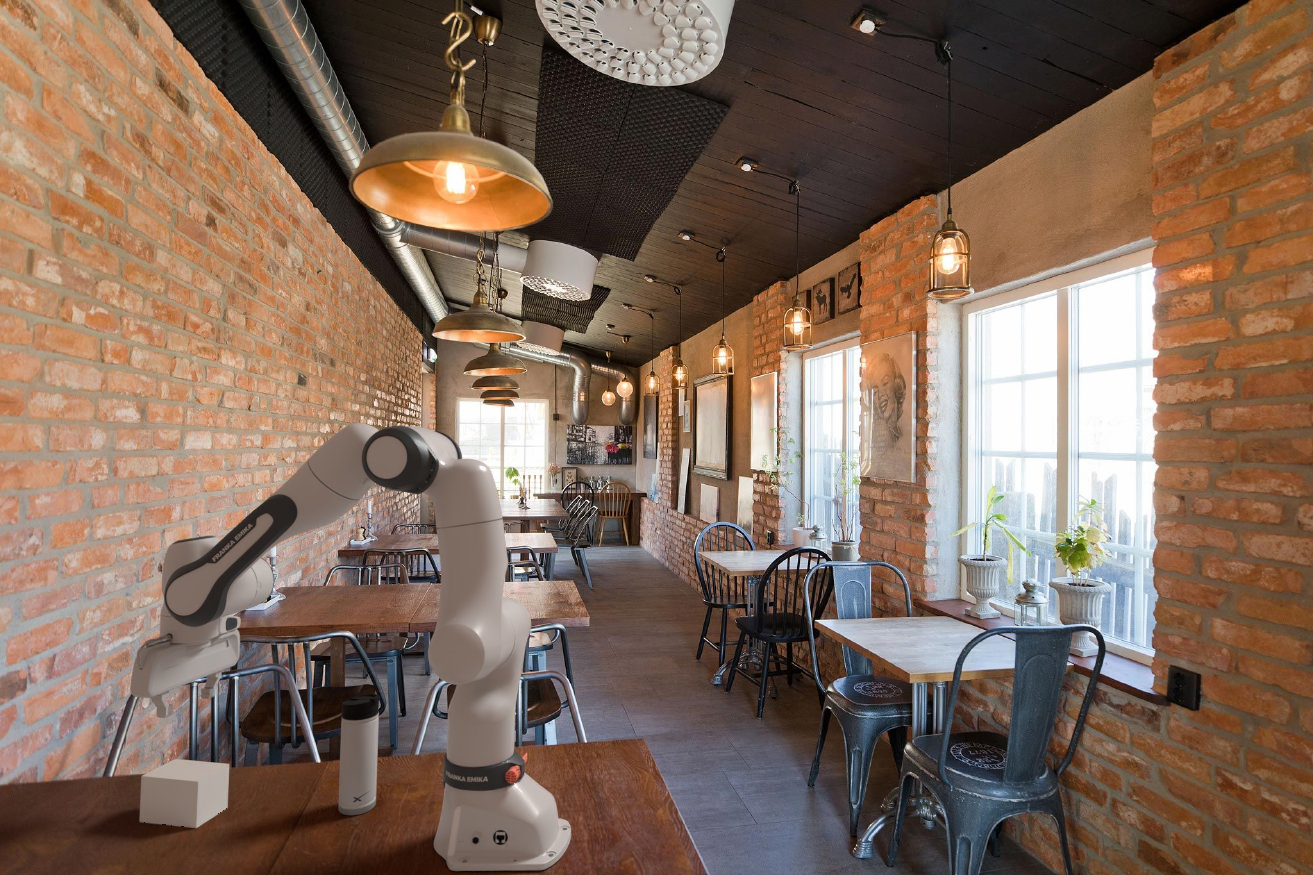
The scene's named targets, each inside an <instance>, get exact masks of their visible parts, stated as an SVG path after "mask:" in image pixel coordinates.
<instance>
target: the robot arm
mask: <svg viewBox="0 0 1313 875" xmlns="http://www.w3.org/2000/svg"><path fill="white" fill-rule="evenodd" d="M374 485H378V486H380V487H382V488H384V489H387V490H390V491H395V492H401V493H402V492H403V493H408V494H413V495H421V494H425V495H427V497H428V498H429V500H430V501H431V502H432V505H433V509H434V516H435V528H436V536H437V546H438V553H439V563H440V591H439V592H440V593H439V601H438V602H439V603H438V610H437V611H438V612H437V619H436V625H435V628H434V631H433V634H432V637H431V639H430V640H429V644H428V650H427V658H428V663H429V666H430V668H431V669H432V671H433V673H434V675H436V677H438V678H439V679H440V680H441V681H443V682H445V683H447V684H451V685H454V686H455V685H456V686H455V689H454V693H453V695H452V698H451V699H450V702H449V706H448V709H447V729H446V731H447V732H446V733H447V734H446V753H445V754H444V757H443V766H442V787H443V789H444V791H443V792H444V793H443V799H442V800H443V801H442V807H441V812H440V818H439V823H438V825H437V826H438V827H437V831H436V834H435V836H434V840H433V848H434V850H435V851H436V853H437V854H438V855H439V856H440V857H442V858H443V859H444V860H445V861H446V865H447V867H448V869H449V870H450V871H454V872H460V871H461V872H463V871H464V872H465V871H468V872H469V871H470V872H471V871H472V872H474V871H475V872H476V871H479V872H480V871H481V872H482V871H483V872H486V871H491V872H493V871H497V872H498V871H543V870H547V869H549V868H550V867H552V866H553V865H554V864H556V863H557V862H558V861H559V860H560V859H561V858H562V857H563V855H564V854H565V852H566V851H567V849H568V847H569V845H570V842H571V838H572V828H571V824H570V822H569V821H568V820H566V819H563V818H561V817H559V814H558V806H557V803H556V799H555V796H554V795H553V794H552V793H551V792H550V791H548V789H546V788H544V787H543V786H542V785H540V784H539V783H538V782H537V781H536V780H535V779H533V778H532V777H531V776H529V775H528V773H526V772H525V770H526V769H525V768H526V763H527V761H528V752H526V753H524V755H523V756H521V754H520V753H519V752H518V751H517V749H516V748H515V732H516V709H517V707H516V706H517V698H518V691H519V686H520V681H521V677H522V672H523V666H524V659H525V652H526V648H527V642H528V640H529V636H530V632H531V629H532V620H531V619H532V618H531V614H530V612H529V610H528V608H527V607H526V605H525V604H523V602H521V601H519V600H517V599H515V598H512V597H505V596H504V595H503V594H504V584H505V579H506V578H505V577H506V573H507V570H508V566H509V558H508V551H507V543H506V542H507V541H506V536H505V527H504V526H505V525H504V519H503V512H502V506H501V501H500V496H499V492H498V488H497V485H496V482H495V479H494V475H493V473H492V470H491V468H490V467H489V466H488V465H487V464H486V463H484V461H480V460H479V459H478V460H477V459H473V458H463V453H462V451H461V448H460V446H459V445H458V443H457V442H456V441H455V440H454V439H453V438H452V437H451V436H450V435H448V434H446V433H444V432H441V431H437V430H431V429H428V428H426V427H423V426H413V425H411V426H410V425H409V426H407V425H392V426H387V427H384V428H381V429H378V428H376V427H375V426H372V425H370V424H367V423H363V422H353V423H350V424H348V425H347V426H345V427H343V428H342V429H340V430H339V431H338V432H336V433H335V434H334V435H333V436H331V437H330V438H328V440H327V441H325V442H324V443H322V445H321V446H319V448H318V449H317V450H315V451H314V453H313V454H312V455H311V456H310V457H309V458H308V459H307V460H306V461H305V462H304V463H303V464H302V465H301V466H300V467H299V469H298V470H297V471H295V473H293V475H291V477H289V479H287V480H286V481H285V482H284V483H283V484H282V485H281V486H280V487H279V488H278V489H277V490H275V491H274V492H273V493H272V494H271V495H270V496H269V497H268V498H267V499H266V500H264V501H263V502H262V503H261V504H260V505H259V506H257V507H255V509H253V511H251V512H250V513H249V514H248V515H246V516H245V517H244V518H243V519H242V520H240V522H238V524H237V525H236V526H234V527H233V528H232V529H231V530H230V531H229V532H228V533H227V534H226V535H225V536H224V537H223V538H220V537H217V536H214V535H205V536H203V535H202V536H199V537H198V536H196V537H190V538H185V539H179V540H176V541H174V542H173V543H171V544H170V545H169V546H168V547H167V549H166V552H165V555H164V560H163V565H162V574H161V592H162V595H163V604H162V607H161V610H160V617H159V618H160V619H159V620H160V621H159V622H160V623H159V636H158V637H155V638H150V639H147V640H146V641H144V643H143V644H142V645H141V646H140V647H139V649H137V651H136V657H135V659H134V663H133V668H132V671H131V678H130V686H129V688H130V689H129V691H130V693H131V694H132V696H133V697H135V698H143V699H151V701H152V703H153V704H154V706H155V707H156V717H157V718H158V719H159V718H163V719H164V718H167V717H169V716H171V715H173V713H174V712H173V710H174V709H173V708H174V704H170V703H169V702H168V700H167V698H168V697H169V696H170V691H171V690H174V689H177V688H180V687H182V686H184V685H185V686H186V685H187V684H190V683H193V682H196V681H198V680H200V679H202V678H205V677H206V678H207V679H206V681H205V684H204V687H202V688H201V689H200V693H201V694H200V698H201V699H202V700H209V699H211V698H214V697H215V696H216V689H217V686H218V685H219V682H220V679H221V677H222V671H224V670H226V669H228V668H232V667H234V666H236V664H237V663H238V661H239V658H240V651H241V650H240V649H241V636H240V631H239V630H238V629H239V628H240V627H241V621H242V620H241V617H239V616H236V615H234V614H237V613H240V612H242V611H247V610H249V609H252V608H255V607H258V606H259V605H261V604H262V603H265V602H266V601H267V600H268V599H269V598H270V596H271V595H272V593H273V590H274V587H275V574H274V571H273V568H272V566H271V565H270V564H269V562H268V561H266V560H265V559H264V558H263V556H265V555H266V553H268V552H269V551H270V550H271V549H273V548H274V547H275V546H277V545H278V544H281V543H282V542H284V541H286V540H288V539H291V538H294V537H295V536H298V535H300V534H303V533H306V532H309V531H312V530H317V529H319V528H323V527H325V526H329V525H331V524H333V523H334V522H336V521H337V520H339V519H340V518H341V517H343V516H344V515H345V514H347V513H348V512H349V511H350V510H352V509H353V508H354V507H355V506H356V505H357V504H358V503H359V501H361V499H362V498H363V497H365V495H366V494H367V493H368V492H369V491H370V489H372V488H373V486H374Z"/></svg>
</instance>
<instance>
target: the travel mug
mask: <svg viewBox="0 0 1313 875" xmlns="http://www.w3.org/2000/svg"><path fill="white" fill-rule="evenodd" d="M380 701H381V695H379V694H377V693H366V694H361V695H356V696H352V697H350V698H349V699H348V700H345V701H343V702H342V703H341V704H342V705H341V706H342V707H341V711H342V712H341V724H340V726H341V727H340V747H339V748H340V752H339V753H340V754H339V756H340V757H339V780H338V782H339V783H338V811H339V813H340V814H342V815H345V816H358V815H359V816H360V815H363V814H365V813H368V812H370V811H371V810H373V809H374V808H375V807H376V805H377V803H376V802H377V785H378V784H377V779H378V778H377V777H378V755H379V754H378V748H379V719H380V718H379V716H380V713H379V710H380V709H379V706H380Z"/></svg>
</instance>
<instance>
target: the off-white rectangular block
mask: <svg viewBox="0 0 1313 875" xmlns="http://www.w3.org/2000/svg"><path fill="white" fill-rule="evenodd" d="M229 778H230V763H224V762H223V763H222V762H211V761H202V760H201V761H200V760H190V759H180V758H175V759H173V760H171V761H168V762H166V763H165V764H162V765H161V766H159V767H157V768H154V769H152V770H150V771H149V772H146V773H145V774H143V775H141V777H140V802H139V823H144V822H145V824H152V825H162V824H166V825H165V826H171V825H172V826H174V827H181V826H184V827H183V828H190V829H198V828H199V827H200V826H203V825H204V824H205V823H206V822H208V821H210V820H211V819H213V818H215V817H216V816H218V815H219V814H220V812H221V813H222V812H224V811H225V810H226V808H227V809H228V808H229V805H228V803H229V782H230V781H229V780H230V779H229ZM223 810H224V811H223ZM218 813H219V814H218Z"/></svg>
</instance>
